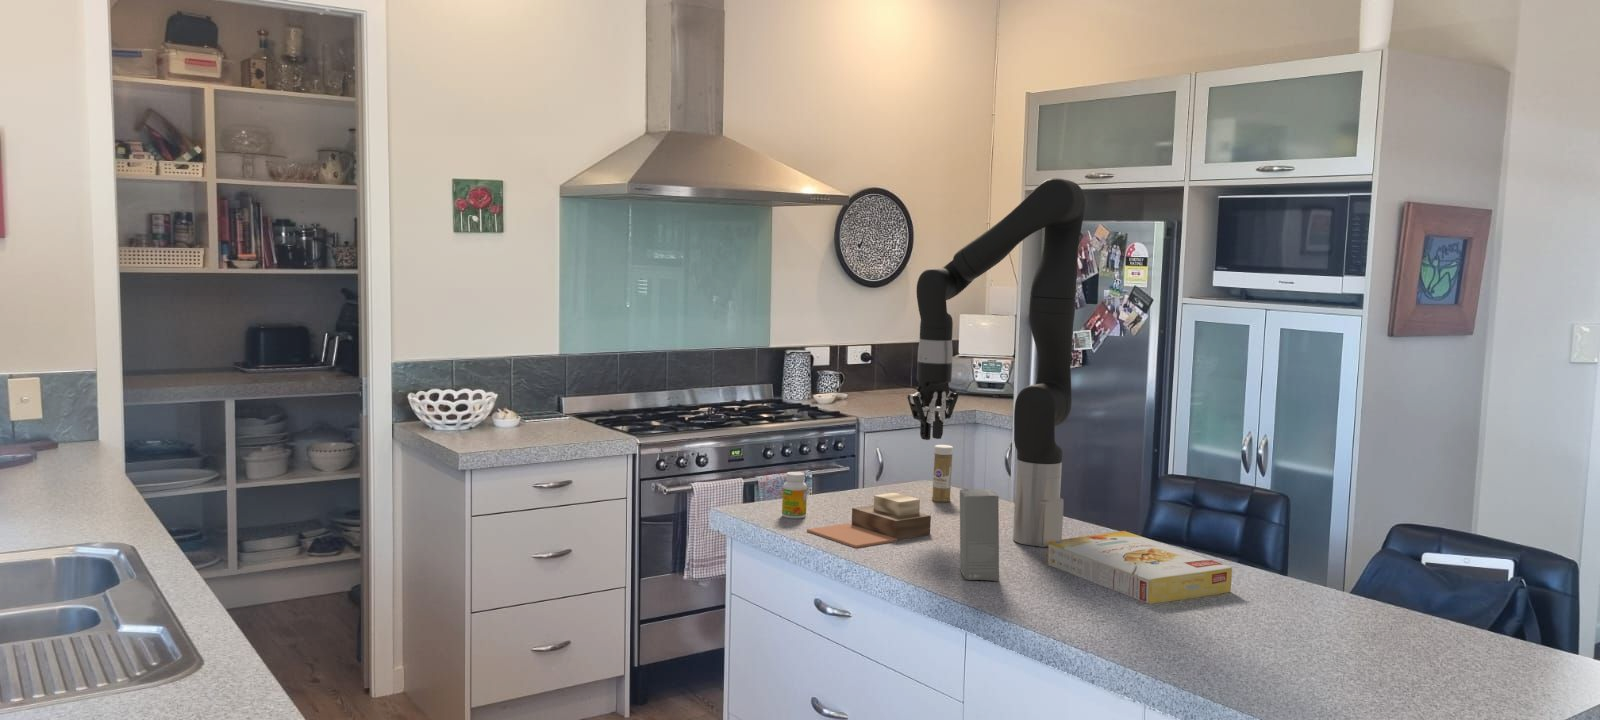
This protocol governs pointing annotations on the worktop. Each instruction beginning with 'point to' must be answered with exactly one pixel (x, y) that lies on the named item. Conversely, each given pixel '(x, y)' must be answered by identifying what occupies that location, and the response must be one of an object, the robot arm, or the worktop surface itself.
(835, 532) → the terracotta mat
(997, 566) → the skincare box
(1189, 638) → the worktop surface
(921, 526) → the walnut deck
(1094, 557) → the cereal box
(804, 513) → the supplement bottle
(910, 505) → the birch block
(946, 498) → the sprinkles bottle
